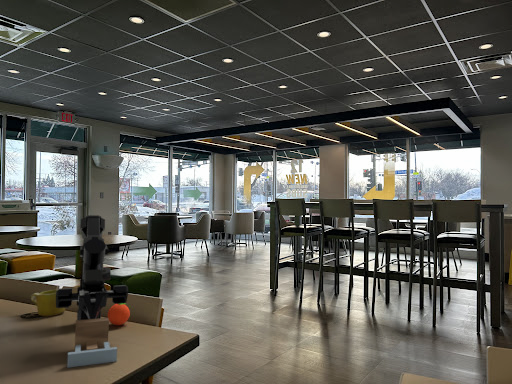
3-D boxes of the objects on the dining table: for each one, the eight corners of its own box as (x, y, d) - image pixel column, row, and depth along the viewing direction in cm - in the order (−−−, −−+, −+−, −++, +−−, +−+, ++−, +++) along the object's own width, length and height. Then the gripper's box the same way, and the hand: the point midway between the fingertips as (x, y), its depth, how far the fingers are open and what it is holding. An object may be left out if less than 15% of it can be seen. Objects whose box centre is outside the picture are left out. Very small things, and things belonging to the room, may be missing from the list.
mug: (77, 306, 144) (67, 281, 143) (55, 321, 135) (44, 295, 133) (53, 309, 149) (44, 285, 147) (30, 324, 139) (20, 299, 138)
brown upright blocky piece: (74, 351, 102) (76, 320, 103) (107, 347, 106) (108, 317, 106) (73, 363, 94) (75, 329, 95) (108, 359, 97) (110, 326, 98)
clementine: (125, 320, 133) (126, 299, 134) (136, 324, 129) (137, 302, 129) (103, 325, 127) (104, 303, 128) (113, 329, 123) (114, 306, 123)
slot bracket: (68, 358, 97) (68, 346, 97) (114, 352, 102) (115, 341, 102) (67, 367, 91) (67, 354, 92) (116, 361, 96) (117, 348, 96)
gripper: (57, 259, 107) (53, 308, 96) (128, 257, 115) (131, 302, 104) (58, 283, 114) (53, 332, 103) (125, 280, 121) (127, 325, 110)
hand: (92, 322), depth 105 cm, fingers closed, pressing on brown upright blocky piece
